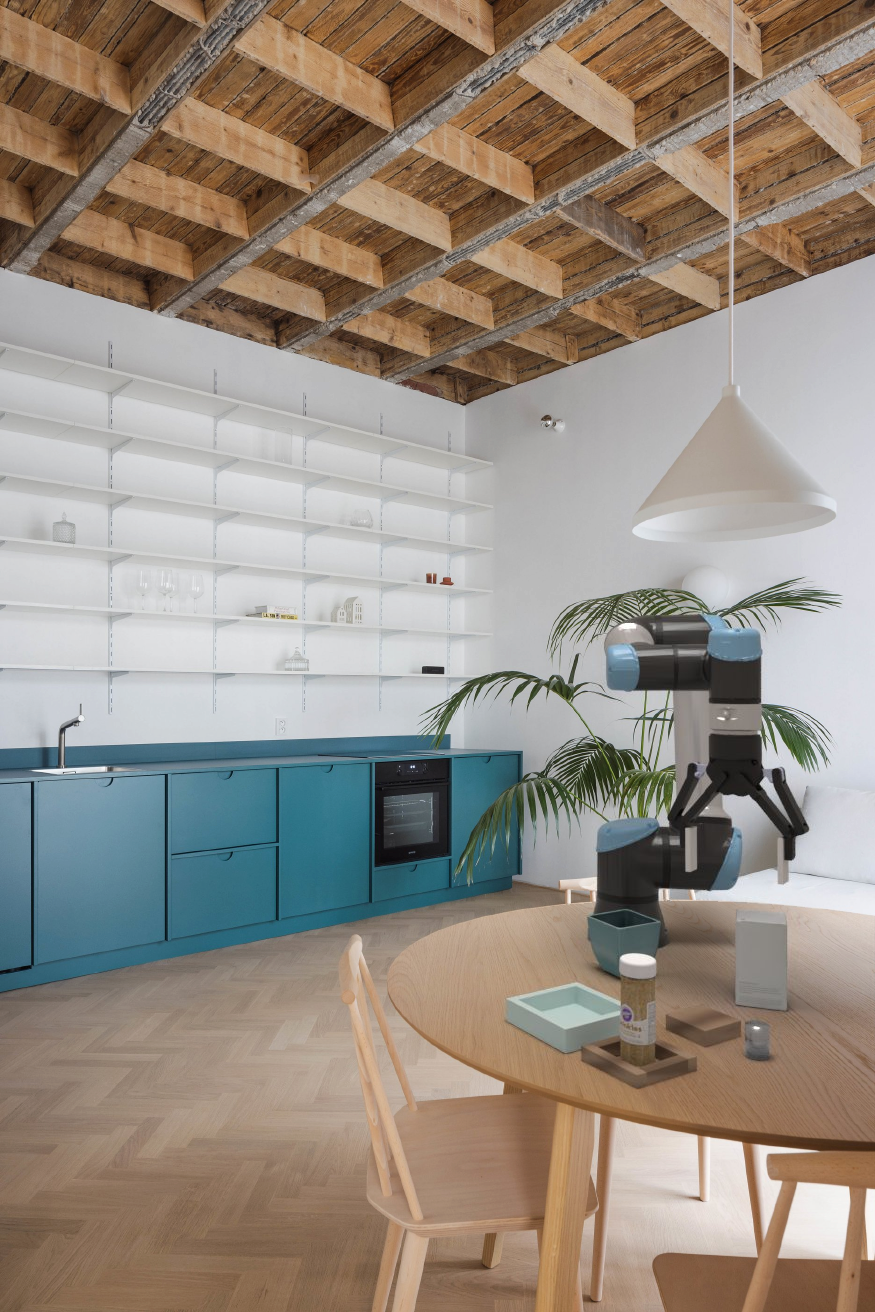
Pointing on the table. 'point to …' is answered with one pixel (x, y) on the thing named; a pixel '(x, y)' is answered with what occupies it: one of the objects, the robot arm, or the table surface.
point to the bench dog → (757, 1040)
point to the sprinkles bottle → (638, 1009)
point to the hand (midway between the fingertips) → (735, 876)
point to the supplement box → (761, 959)
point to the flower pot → (622, 937)
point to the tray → (566, 1015)
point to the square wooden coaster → (703, 1025)
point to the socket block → (669, 1067)
